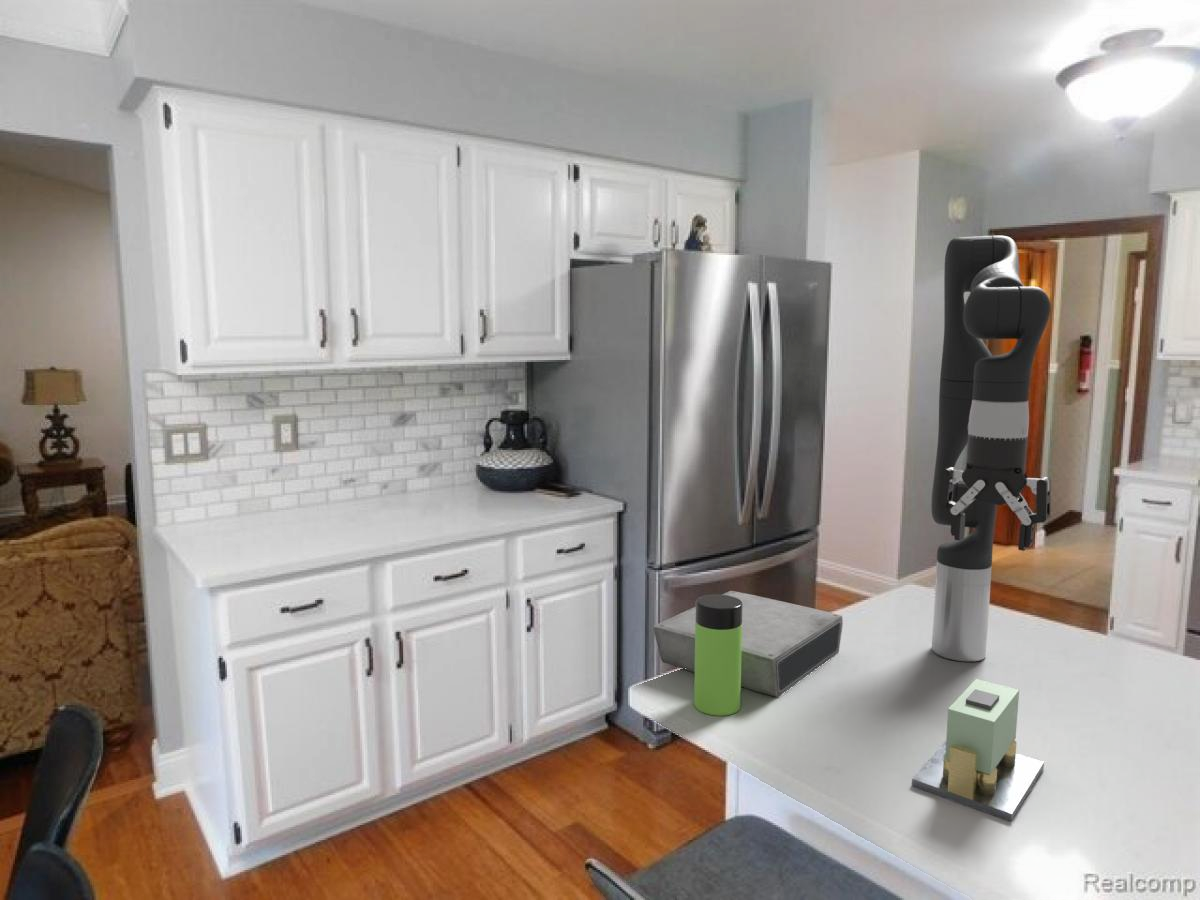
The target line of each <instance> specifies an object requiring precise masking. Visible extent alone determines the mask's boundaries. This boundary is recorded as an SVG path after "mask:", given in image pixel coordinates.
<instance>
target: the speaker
mask: <svg viewBox="0 0 1200 900" xmlns="http://www.w3.org/2000/svg"><path fill="white" fill-rule="evenodd" d="M721 595H728V596H732V597H735V598H738V599H739V600H741V601H742V603H743V609H742V651H741V688H743V687H744V689H747V690H750V691H754V692H756V693H760V692H761V694H763V695H768V696H771V697H775V698H777V697H778V698H780V697H779V696H781V695H782V694H783V693H784V692H786V691H787V690H789V689H790V688H791V687H793V686H794V685H795V684H797V683H798V682H799V681H801V680H802V679H803V678H805V677H806V676H807V675H809V674H810V673H811V672H813V671H814V670H815V669H817V668H818V667H819V666H821V665H822V664H824V663H825V662H826V661H828V660H829V659H830V660H832V659H833V658H834V657H836V656H837V655H838V654H839V652H840V647H841V638H842V632H843V626H844V625H843V624H844V623H843V615H841V614H838V613H833V612H830V611H825V610H823V609H821V610H820V609H817V608H813V607H808V606H805V605H804V606H803V605H800V604H796V603H795V604H794V603H790V602H786V601H781V600H778V599H772V598H769V597H763V596H759V595H755V594H749V593H744V592H740V591H736V590H735V591H734V590H729V591H727V592H724V593H722V594H721ZM695 616H696V606H694V607H691V608H690V609H688V610H685V611H683V612H680V613H679V614H676V615H674V616H671V617H670V618H668V619H665V620H663V621H661V622H659V623H657V624H655V625H654V626H653V631H654V636H655V640H656V645H657V650H658V653H659V658H660V660H661V662H662V663H664V664H667V665H669V666H673V667H676V668H680V669H682V670H685V671H689V672H692V673H694V674H695ZM836 654H837V655H836ZM835 655H836V656H835ZM832 657H833V658H832ZM831 658H832V659H831ZM830 660H829V661H830ZM829 661H828V662H829ZM826 663H827V662H826ZM826 663H825V664H826ZM825 664H824V665H825ZM822 666H823V665H822ZM822 666H821V667H822ZM685 668H686V669H685ZM818 669H819V668H818ZM818 669H817V670H818ZM814 672H815V671H814ZM814 672H813V673H814ZM811 674H812V673H811ZM811 674H810V675H811ZM810 675H809V676H810ZM807 677H808V676H807ZM807 677H806V678H807ZM806 678H805V679H806ZM803 680H804V679H803ZM803 680H802V681H803ZM802 681H801V682H802ZM799 683H800V682H799ZM799 683H798V684H799ZM798 684H797V685H798ZM795 686H796V685H795ZM795 686H794V687H795ZM794 687H793V688H794ZM791 689H792V688H791ZM791 689H790V690H791ZM790 690H789V691H790ZM787 692H788V691H787ZM787 692H786V693H787ZM783 695H784V694H783ZM783 695H782V696H783ZM782 696H781V697H782Z"/></svg>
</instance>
